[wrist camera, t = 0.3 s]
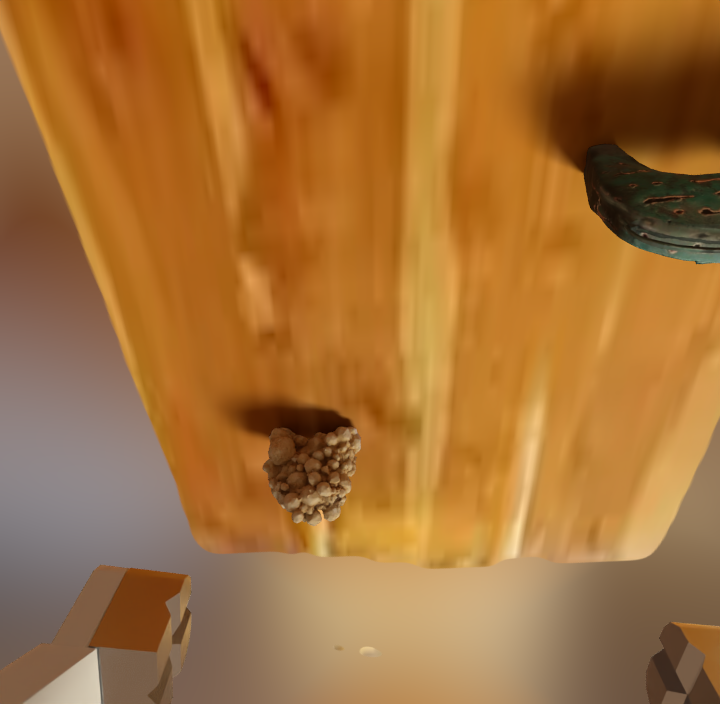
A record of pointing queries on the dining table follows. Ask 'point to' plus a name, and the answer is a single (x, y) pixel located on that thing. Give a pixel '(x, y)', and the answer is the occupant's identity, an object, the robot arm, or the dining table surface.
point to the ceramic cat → (655, 205)
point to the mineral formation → (312, 471)
